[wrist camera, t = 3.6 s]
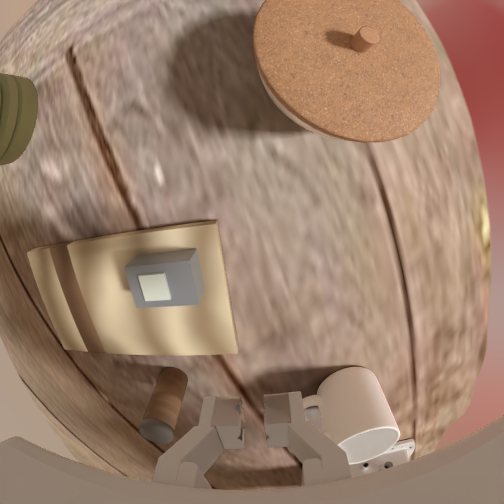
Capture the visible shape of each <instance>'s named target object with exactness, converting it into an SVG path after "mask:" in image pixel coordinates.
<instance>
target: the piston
mask: <svg viewBox="0 0 504 504" xmlns="http://www.w3.org/2000/svg"><path fill="white" fill-rule="evenodd" d="M37 113H38V95H37V91H36V88H35V85H34V84H33V82H32V81H31V80H30V79H28V78H25V77H20V76H14V75H8V74H2V73H0V165H3V164H9V163H12V162H14V161H15V160H17V159H18V158H19V157H20V156H21V154H22V153H23V152H24V150H25V149H26V147H27V145H28V143H29V141H30V139H31V137H32V134H33V131H34V128H35V124H36V119H37Z"/></svg>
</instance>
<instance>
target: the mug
mask: <svg viewBox="0 0 504 504" xmlns="http://www.w3.org/2000/svg"><path fill="white" fill-rule="evenodd" d="M302 401H303V407H304V410H305V409H306V408H307V407H310V406H318V408H319V412H320V417H321V423H322V428H323V432H322V433H324V434H325V435H326V436H327V437H328V438H329V439H331V440H332V441H333V442H334V443H335V444H337V445H338V446H339V447H340V448H341V449H343V450H344V451H345V452H346V455H347V459H348V463H349V465H351V464H357V463H361V462H365V461H368V460H370V459H373V458H375V457H377V456H379V455H381V454H383V453H384V452H386V451H387V450H389V449H390V448H391V447H392V446H393V445H394V444H395V443H396V442H397V441H398V439H399V436H400V431H399V429H398V426H397V424H396V421H395V419H394V417H393V414H392V412H391V410H390V407H389V405H388V403H387V400H386V398H385V396H384V393H383V391H382V389H381V387H380V385H379V382H378V380H377V378H376V377H375V375H374V374H373V373H372V372H371V371H370V370H368V369H366V368H363V367H349V368H344V369H341V370H339V371H337V372H335V373H333V374H331V375H330V376H328V377H327V378H326V379H325V380H324V381H323V382H322V383H321V385H320V386H319V388H318V391H317V395H312V396H308V397H305V398H303V399H302Z"/></svg>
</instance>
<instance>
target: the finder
mask: <svg viewBox="0 0 504 504" xmlns="http://www.w3.org/2000/svg"><path fill="white" fill-rule="evenodd" d="M124 268H125V272H126V276H127V279H128V283H129V286H130V289H131V293H132V296H133V299H134V302H135V305H136V308H149V307H169V306H187V305H199V303H200V301H201V298H202V295H203V292H204V290H205V287H204V282H203V277H202V272H201V267H200V261H199V256H198V251H197V248H196V249H187V250H178V251H169V252H160V253H151V254H142V255H137V256H136V257H135V258H133V259H132V260H131V261H130V262H129V263H128V264H127V265H126V266H125V267H124Z"/></svg>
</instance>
